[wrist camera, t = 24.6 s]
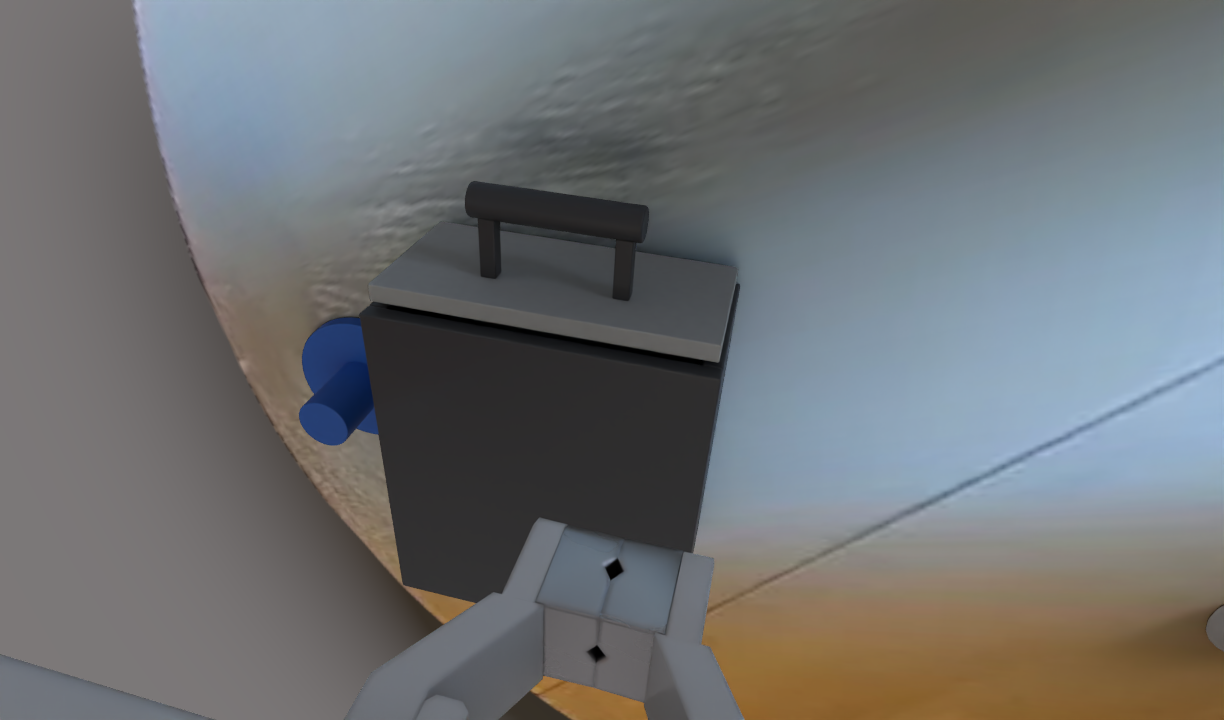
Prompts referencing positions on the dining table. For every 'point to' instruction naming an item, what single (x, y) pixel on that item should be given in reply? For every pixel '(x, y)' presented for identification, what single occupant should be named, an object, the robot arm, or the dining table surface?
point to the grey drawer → (563, 277)
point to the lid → (337, 383)
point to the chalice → (1216, 628)
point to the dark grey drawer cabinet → (530, 442)
